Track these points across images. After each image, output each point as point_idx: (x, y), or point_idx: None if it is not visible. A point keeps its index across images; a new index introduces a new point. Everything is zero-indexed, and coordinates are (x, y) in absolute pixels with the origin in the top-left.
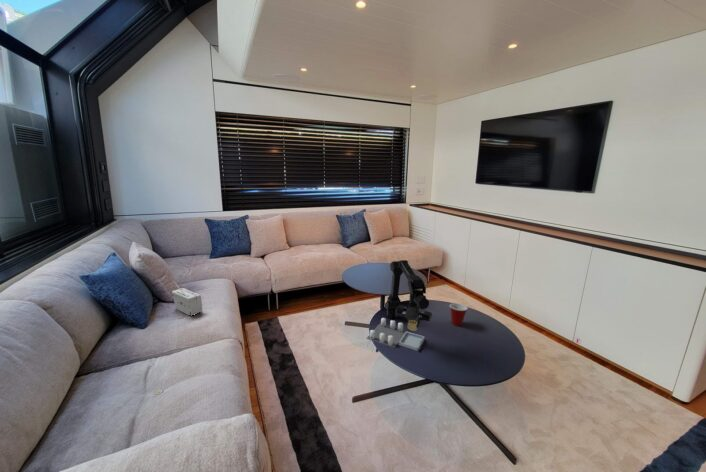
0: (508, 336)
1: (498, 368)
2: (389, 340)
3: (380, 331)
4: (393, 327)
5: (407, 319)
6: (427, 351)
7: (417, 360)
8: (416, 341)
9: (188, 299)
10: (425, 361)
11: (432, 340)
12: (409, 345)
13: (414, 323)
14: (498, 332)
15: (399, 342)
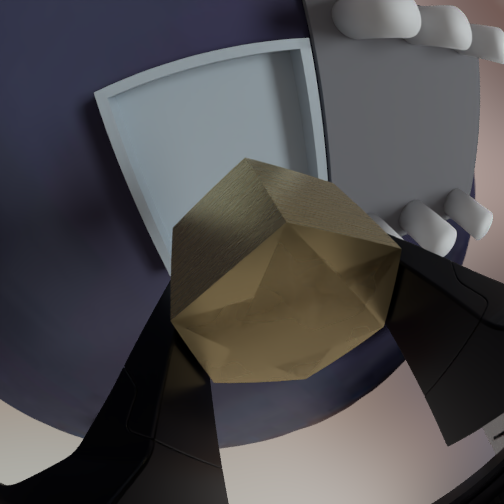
0: (50, 425)
1: None
2: None
3: (455, 135)
4: (415, 215)
5: (451, 297)
6: (58, 161)
7: (51, 5)
8: (197, 198)
9: None
10: (7, 53)
11: (133, 295)
12: (186, 59)
13: (248, 322)
14: (73, 429)
15: (298, 38)
